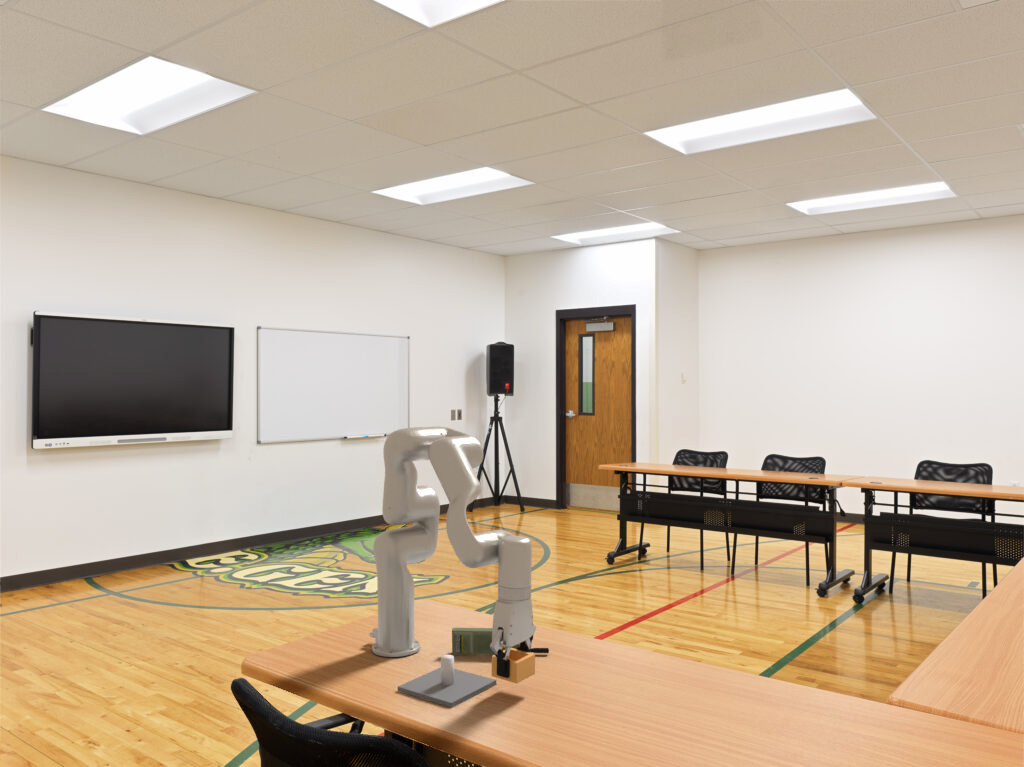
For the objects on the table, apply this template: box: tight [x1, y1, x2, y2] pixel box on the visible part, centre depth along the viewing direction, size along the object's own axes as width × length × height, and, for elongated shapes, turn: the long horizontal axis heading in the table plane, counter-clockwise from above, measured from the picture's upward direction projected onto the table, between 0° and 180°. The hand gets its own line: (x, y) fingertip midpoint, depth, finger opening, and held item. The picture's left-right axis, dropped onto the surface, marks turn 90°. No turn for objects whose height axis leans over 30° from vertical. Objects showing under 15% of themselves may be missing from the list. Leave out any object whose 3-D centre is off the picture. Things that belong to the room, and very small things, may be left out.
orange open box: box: [491, 648, 536, 685], centre depth 174 cm, size 7×7×4 cm
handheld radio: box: [451, 627, 550, 656], centre depth 200 cm, size 7×3×25 cm
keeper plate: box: [397, 654, 497, 709], centre depth 178 cm, size 16×16×7 cm
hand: (513, 670), depth 174 cm, fingers closed on orange open box, 7 cm apart
